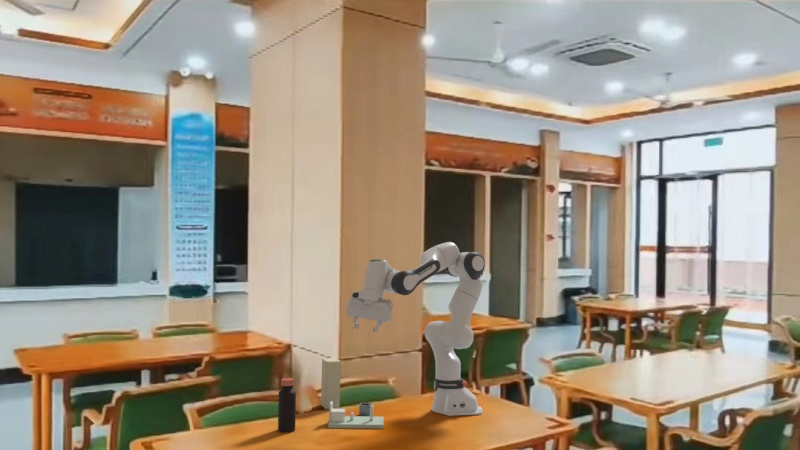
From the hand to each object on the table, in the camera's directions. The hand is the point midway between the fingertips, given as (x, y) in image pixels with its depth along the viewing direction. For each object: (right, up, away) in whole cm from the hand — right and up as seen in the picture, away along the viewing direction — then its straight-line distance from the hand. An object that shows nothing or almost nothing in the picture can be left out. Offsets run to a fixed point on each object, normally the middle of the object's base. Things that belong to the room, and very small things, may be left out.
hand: (365, 330), depth 274 cm
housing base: (-3, -38, -3) cm, 38 cm away
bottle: (-30, -37, -13) cm, 50 cm away
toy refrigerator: (-17, -38, +24) cm, 48 cm away
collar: (-1, -38, +9) cm, 39 cm away
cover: (-11, -36, -3) cm, 38 cm away
